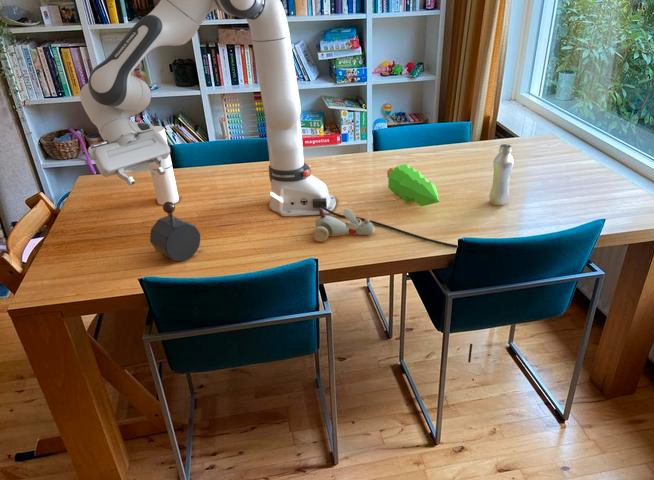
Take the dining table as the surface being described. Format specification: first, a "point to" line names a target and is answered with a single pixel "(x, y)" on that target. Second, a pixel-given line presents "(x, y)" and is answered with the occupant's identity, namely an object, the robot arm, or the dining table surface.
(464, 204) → the dining table surface
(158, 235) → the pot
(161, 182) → the cylindrical container
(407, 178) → the decorative tree
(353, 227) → the toy dog
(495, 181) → the plastic bottle
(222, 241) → the dining table surface
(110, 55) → the robot arm
